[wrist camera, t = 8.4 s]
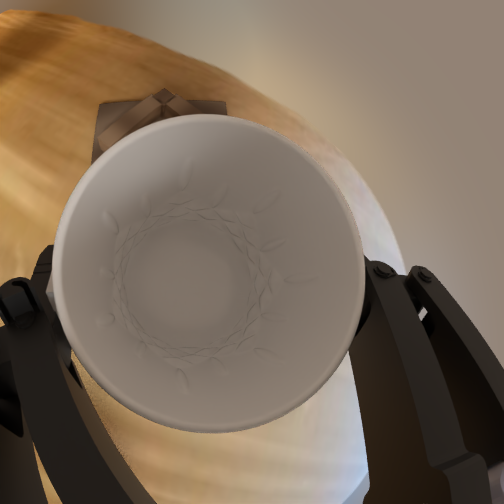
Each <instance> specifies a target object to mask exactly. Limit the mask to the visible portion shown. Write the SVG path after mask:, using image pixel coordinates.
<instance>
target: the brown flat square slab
mask: <svg viewBox="0 0 504 504" xmlns="http://www.w3.org/2000/svg"><path fill="white" fill-rule="evenodd" d="M194 114H217V115H226V116H227V110H226V102H219V101H199V100H185V99H183V98H182V97H180V96H179V95H178V94H175V95H173V94H172V93H171V92H169V91H168V90H166V89H165V88H164V89H163V90H161V91H160V92H158V93H157V94H155V95H153V94H151V95H150V96H148V97H147V98H146V99H144V100H143V101H129V102H116V103H106V104H100V105H99V110H98V116H97V122H96V128H95V135H94V143H93V151H92V161H91V165H92V164H93V163H94V162H95V161H96V160H97V159H98V158H99V157H100V156H101V155H102V154H103V153H104V152H105V151H106V150H108V149H109V148H110V147H111V146H113V145H114V144H115V143H117V142H118V141H119V140H121V139H122V138H124V137H126V136H127V135H129V134H131V133H132V132H134V131H136V130H138V129H140V128H143V127H145V126H147V125H150V124H152V123H155V122H158V121H161V120H165V119H168V118H173V117H178V116H184V115H194Z"/></svg>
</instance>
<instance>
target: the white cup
mask: <svg viewBox="0 0 504 504" xmlns="http://www.w3.org/2000/svg"><path fill="white" fill-rule="evenodd" d="M52 282H53V292H54V298H55V303H56V308H57V312H58V316H59V319H60V322H61V325H62V328H63V330H64V333H65V335H66V337H67V340H68V342H69V344H70V346H71V348H72V349H73V351H74V353H75V355H76V356H77V358H78V359H79V361H80V362H81V364H82V365H83V367H84V368H85V369H86V371H87V372H88V373H89V375H90V376H91V377H92V378H93V379H94V380H95V381H96V382H97V384H98V385H99V386H100V387H101V388H102V389H103V390H105V391H106V392H107V393H108V394H109V395H110V396H111V397H113V398H114V399H115V400H116V401H118V402H119V403H120V404H122V405H123V406H125V407H126V408H128V409H129V410H131V411H133V412H134V413H136V414H138V415H140V416H142V417H144V418H146V419H148V420H150V421H153V422H155V423H158V424H161V425H164V426H167V427H170V428H174V429H178V430H183V431H189V432H196V433H229V432H236V431H242V430H247V429H251V428H254V427H258V426H261V425H264V424H266V423H269V422H271V421H274V420H276V419H278V418H280V417H282V416H284V415H286V414H288V413H289V412H291V411H293V410H294V409H296V408H297V407H299V406H300V405H302V404H303V403H304V402H306V401H307V400H308V399H309V398H311V397H312V396H313V395H314V394H315V393H316V392H317V391H318V390H319V389H320V388H321V387H322V386H323V385H324V384H325V383H326V382H327V381H328V380H329V378H330V377H331V376H332V375H333V373H334V372H335V371H336V369H337V368H338V366H339V365H340V363H341V362H342V360H343V358H344V357H345V355H346V353H347V351H348V349H349V347H350V345H351V343H352V341H353V338H354V336H355V333H356V330H357V327H358V324H359V321H360V317H361V313H362V308H363V302H364V294H365V262H364V254H363V248H362V243H361V238H360V235H359V231H358V228H357V225H356V222H355V219H354V217H353V214H352V212H351V210H350V207H349V205H348V203H347V201H346V200H345V198H344V196H343V194H342V193H341V191H340V189H339V188H338V186H337V185H336V183H335V182H334V180H333V179H332V178H331V176H330V175H329V174H328V173H327V172H326V170H325V169H324V168H323V167H322V166H321V165H320V164H319V163H318V162H317V161H316V160H315V159H314V158H313V157H312V156H311V155H310V154H309V153H308V152H306V151H305V150H304V149H303V148H302V147H300V146H299V145H298V144H296V143H295V142H293V141H292V140H290V139H289V138H287V137H285V136H284V135H282V134H280V133H278V132H277V131H275V130H272V129H270V128H268V127H266V126H263V125H261V124H258V123H255V122H252V121H249V120H246V119H242V118H237V117H232V116H226V115H217V114H194V115H184V116H178V117H173V118H168V119H165V120H161V121H158V122H155V123H152V124H150V125H147V126H145V127H143V128H140V129H138V130H136V131H134V132H132V133H131V134H129V135H127V136H126V137H124V138H122V139H121V140H119V141H118V142H117V143H115V144H114V145H113V146H111V147H110V148H109V149H108V150H106V151H105V152H104V153H103V154H102V155H101V156H100V157H99V158H98V159H97V160H96V161H95V162H94V163H93V164H92V165H91V166H90V167H89V169H88V170H87V171H86V172H85V174H84V175H83V176H82V178H81V179H80V181H79V182H78V184H77V185H76V187H75V188H74V190H73V192H72V194H71V195H70V197H69V199H68V201H67V204H66V206H65V208H64V211H63V213H62V216H61V219H60V222H59V225H58V229H57V233H56V237H55V242H54V249H53V258H52Z"/></svg>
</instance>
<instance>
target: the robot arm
mask: <svg viewBox="0 0 504 504" xmlns="http://www.w3.org/2000/svg"><path fill="white" fill-rule="evenodd" d="M53 249H54V245H48V246H47V247H46V248H45V249H44V250H43V252H42V253H41V254H40V256H39V258H38V261H37V263H36V266H35V269H34V271H33V275H32V277H31V280H29V279H27V278H23V277H17V278H13V279H11V280H9V281H7V282H5V283H4V284H3V285H2V286H1V287H0V317H1V319H2V321H3V322H4V324H5V325H4V326H2V327H0V504H48V501H47V498H46V495H45V492H44V488H43V485H42V481H41V478H40V474H39V470H38V466H37V461H36V457H35V452H34V446H33V443H34V445H35V448H36V450H37V453H38V455H39V457H40V460H41V462H42V464H43V467H44V469H45V471H46V473H47V475H48V477H49V479H50V481H51V483H52V485H53V487H54V489H55V491H56V493H57V494H58V496H59V498H60V500H61V501H62V503H63V504H157V503H156V502H155V501H154V500H153V498H152V497H151V496H150V495H149V493H148V492H147V491H146V490H145V488H144V487H143V486H142V484H141V483H140V482H139V480H138V479H137V477H136V476H135V475H134V473H133V472H132V470H131V469H130V467H129V466H128V465H127V463H126V462H125V460H124V459H123V457H122V455H121V454H120V452H119V451H118V449H117V447H116V446H115V444H114V443H113V441H112V439H111V438H110V436H109V434H108V432H107V431H106V429H105V427H104V425H103V423H102V421H101V420H100V418H99V416H98V414H97V412H96V410H95V408H94V406H93V404H92V402H91V400H90V398H89V396H88V394H87V391H86V389H85V387H84V385H83V383H82V380H81V378H80V376H79V373H78V371H77V368H76V366H75V364H74V362H73V361H72V359H71V346H70V344H69V342H68V340H67V337H66V335H65V333H64V330H63V328H62V325H61V322H60V319H59V316H58V312H57V308H56V303H55V298H54V292H53V282H52V258H53ZM364 262H365V294H364V302H363V308H362V313H361V317H360V321H359V324H358V327H357V330H356V333H355V336H354V338H353V341H352V343H351V345H350V347H349V349H348V351H349V356H350V360H351V365H352V370H353V375H354V380H355V385H356V390H357V396H358V401H359V407H360V413H361V419H362V426H363V432H364V439H365V446H366V454H367V462H368V470H369V479H370V488H369V491H368V492H367V494H366V495H365V497H364V500H363V504H504V369H503V367H502V366H501V364H500V363H499V361H498V359H497V358H496V356H495V355H494V353H493V352H492V350H491V349H490V347H489V346H488V344H487V343H486V341H485V340H484V338H483V337H482V335H481V334H480V333H479V331H478V330H477V328H476V327H475V326H474V324H473V323H472V322H471V320H470V319H469V317H468V316H467V315H466V314H465V312H464V311H463V310H462V308H461V307H460V306H459V304H458V303H457V302H456V301H455V299H454V298H453V297H452V296H451V295H450V293H449V292H448V291H447V290H446V288H445V287H444V286H443V285H442V284H441V282H440V281H439V280H438V279H437V278H436V277H435V276H434V274H433V273H431V272H430V271H429V270H428V269H426V268H425V267H422V266H413V267H412V269H411V270H410V272H409V274H408V276H406V275H398V274H397V273H396V271H395V270H394V269H393V268H392V267H390V266H389V265H387V264H385V263H383V262H380V261H370V260H369V259H368V258H367V257H366V256H365V255H364ZM423 307H424V308H425V309H426V310H427V314H426V315H425V317H424V318H423V320H422V321H421V320H420V319H419V316H418V314H419V313H420V312H421V310H422V309H423ZM32 440H33V441H32Z"/></svg>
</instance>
